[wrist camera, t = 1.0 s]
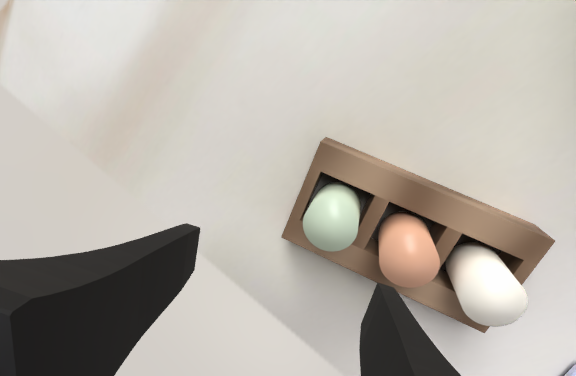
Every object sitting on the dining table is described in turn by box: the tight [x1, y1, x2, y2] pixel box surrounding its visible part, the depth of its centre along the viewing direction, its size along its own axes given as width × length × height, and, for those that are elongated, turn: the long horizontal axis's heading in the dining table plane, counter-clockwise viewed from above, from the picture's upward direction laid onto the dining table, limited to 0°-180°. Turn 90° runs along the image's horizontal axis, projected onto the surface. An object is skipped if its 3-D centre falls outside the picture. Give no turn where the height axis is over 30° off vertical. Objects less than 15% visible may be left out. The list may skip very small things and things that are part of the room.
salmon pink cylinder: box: [378, 211, 440, 288], centre depth 19 cm, size 3×3×4 cm
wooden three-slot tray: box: [282, 137, 555, 333], centre depth 21 cm, size 14×7×2 cm, turn 69°
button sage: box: [303, 182, 361, 252], centre depth 19 cm, size 3×3×4 cm
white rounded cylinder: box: [445, 242, 528, 327], centre depth 18 cm, size 3×3×4 cm
